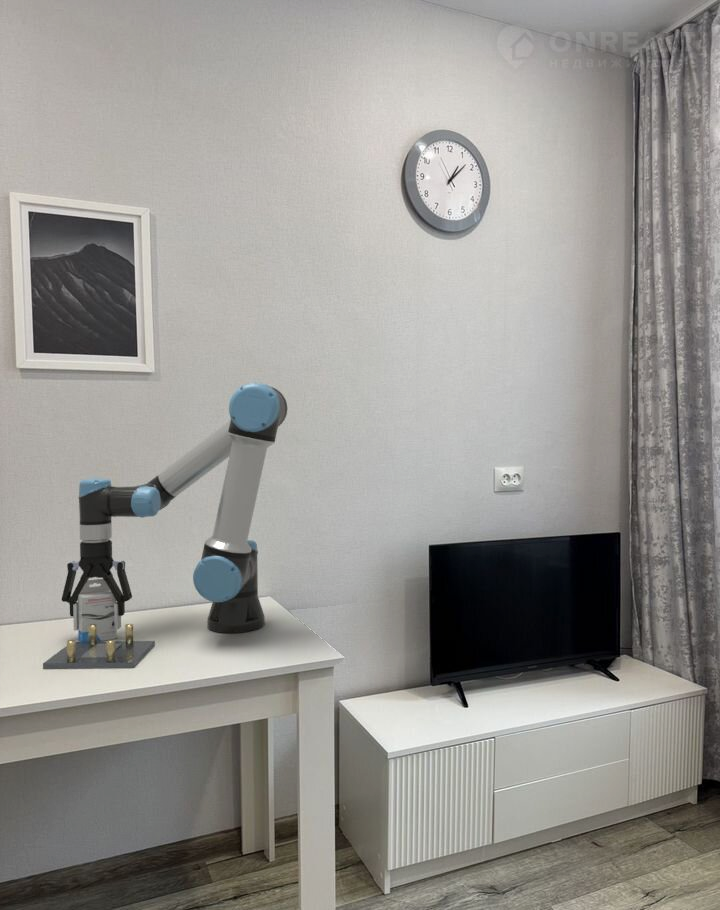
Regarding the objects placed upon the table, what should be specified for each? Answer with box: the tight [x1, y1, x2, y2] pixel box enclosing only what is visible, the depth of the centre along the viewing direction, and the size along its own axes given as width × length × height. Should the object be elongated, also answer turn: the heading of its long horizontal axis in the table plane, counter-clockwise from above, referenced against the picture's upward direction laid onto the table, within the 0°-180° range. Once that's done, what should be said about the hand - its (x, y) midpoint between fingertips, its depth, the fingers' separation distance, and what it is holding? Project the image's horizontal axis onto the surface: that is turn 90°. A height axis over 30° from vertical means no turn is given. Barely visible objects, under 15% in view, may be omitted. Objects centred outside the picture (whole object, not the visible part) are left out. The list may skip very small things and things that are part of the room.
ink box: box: [77, 578, 118, 642], centre depth 174 cm, size 8×5×15 cm, turn 123°
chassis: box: [42, 623, 156, 670], centre depth 160 cm, size 20×16×6 cm
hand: (97, 628), depth 174 cm, fingers closed on ink box, 9 cm apart
